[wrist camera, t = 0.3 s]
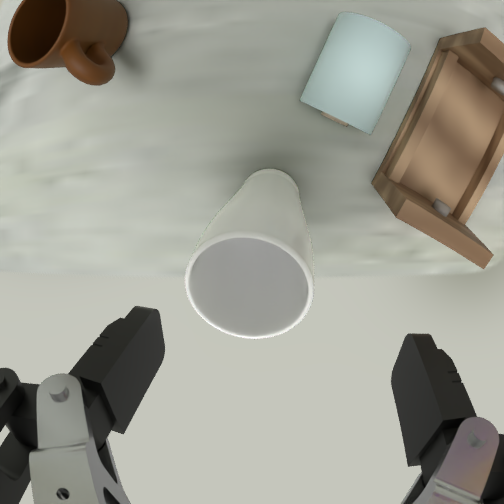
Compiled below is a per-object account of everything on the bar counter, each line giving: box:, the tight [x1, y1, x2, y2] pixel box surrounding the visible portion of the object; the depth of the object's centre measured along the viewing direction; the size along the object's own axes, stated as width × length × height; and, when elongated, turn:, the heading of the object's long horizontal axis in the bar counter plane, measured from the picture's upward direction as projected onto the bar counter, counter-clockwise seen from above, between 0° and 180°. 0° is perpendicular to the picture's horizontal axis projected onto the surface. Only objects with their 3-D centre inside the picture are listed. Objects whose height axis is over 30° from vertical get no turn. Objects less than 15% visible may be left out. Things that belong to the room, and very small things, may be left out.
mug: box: [8, 0, 128, 85], centre depth 19 cm, size 12×8×9 cm, turn 40°
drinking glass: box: [185, 169, 314, 339], centre depth 22 cm, size 7×7×15 cm
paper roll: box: [300, 12, 411, 135], centre depth 20 cm, size 9×6×6 cm
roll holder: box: [371, 28, 504, 269], centre depth 20 cm, size 16×10×8 cm, turn 158°
